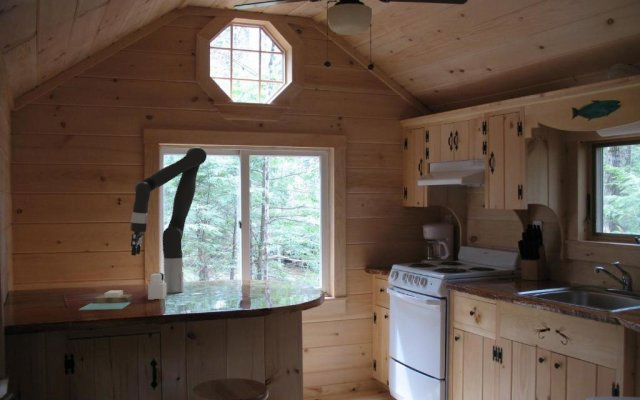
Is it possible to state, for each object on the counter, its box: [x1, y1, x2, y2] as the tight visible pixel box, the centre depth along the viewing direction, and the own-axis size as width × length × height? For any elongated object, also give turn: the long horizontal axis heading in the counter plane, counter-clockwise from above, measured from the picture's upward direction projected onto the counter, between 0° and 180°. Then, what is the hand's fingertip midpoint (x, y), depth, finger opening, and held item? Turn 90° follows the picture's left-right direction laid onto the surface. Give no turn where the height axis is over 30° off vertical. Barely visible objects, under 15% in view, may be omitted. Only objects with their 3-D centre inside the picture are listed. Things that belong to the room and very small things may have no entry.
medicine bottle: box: [147, 272, 168, 301], centre depth 297 cm, size 7×7×12 cm
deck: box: [93, 293, 134, 303], centre depth 289 cm, size 15×10×2 cm, turn 94°
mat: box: [78, 301, 132, 311], centre depth 276 cm, size 18×16×1 cm
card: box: [104, 289, 124, 298], centre depth 289 cm, size 9×6×2 cm, turn 4°
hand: (135, 254), depth 310 cm, fingers open, 8 cm apart
